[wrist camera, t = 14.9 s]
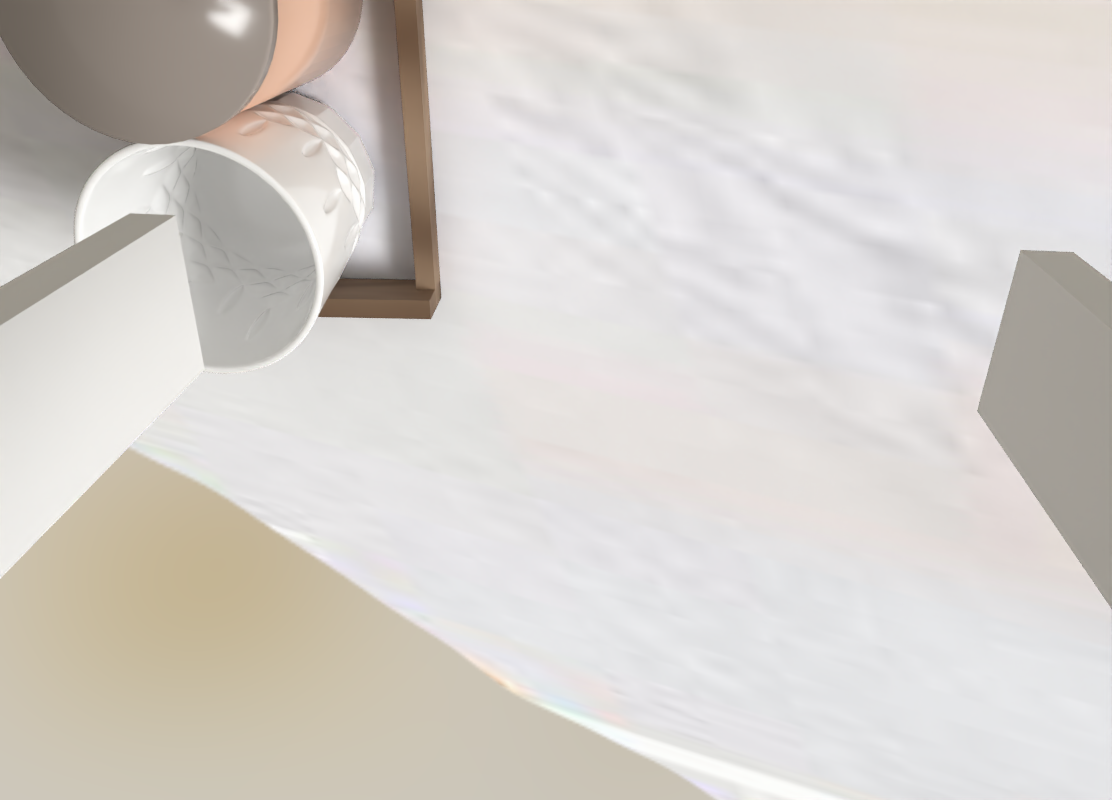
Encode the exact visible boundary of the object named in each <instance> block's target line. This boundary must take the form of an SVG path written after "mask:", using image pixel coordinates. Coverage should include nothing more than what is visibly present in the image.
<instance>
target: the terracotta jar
mask: <svg viewBox="0 0 1112 800" xmlns="http://www.w3.org/2000/svg"><path fill="white" fill-rule="evenodd" d="M362 4H363V0H0V36H1V38H2V40H3V42H4V43H5V45H6V47H7V49H8V51H9V52H10V54H11V55H12V57H13V58H14V60H15V61H16V63H17V64H18V66H19V67H20V69H21V70H22V71H23V73H24V74H25V75H26V76H27V77H28V79H29V80H30V81H31V82H32V84H33V85H34V86H35V87H36V88H37V89H38V90H39V91H40V92H41V93H42V94H43V95H44V96H45V97H46V98H47V99H48V100H49V101H51V102H52V103H53V104H54V105H56V106H57V107H58V108H59V109H60V110H62V111H63V112H64V113H66V114H67V115H69V116H70V117H72V118H73V119H75V120H76V121H78V122H79V123H81V124H83V125H85V126H87V127H89V128H91V129H93V130H95V131H97V132H99V133H102V134H105V135H107V136H110V137H113V138H115V139H120V140H124V141H128V142H132V143H140V144H149V145H153V144H171V143H177V142H183V141H186V140H189V139H192V138H195V137H198V136H201V135H203V134H205V133H208V132H210V131H212V130H214V129H216V128H218V127H220V126H222V125H224V124H225V123H227V122H228V121H229V120H231V119H232V118H234V117H235V116H236V115H238V114H239V113H240V112H242V111H244V110H246V109H249V108H251V107H253V106H256V105H258V104H260V103H263V102H265V101H267V100H270V99H272V98H274V97H276V96H279V95H281V94H283V93H286V92H288V91H290V90H293V89H295V88H297V87H299V86H302V85H304V84H306V83H309V82H311V81H313V80H315V79H317V78H319V77H321V76H322V75H324V74H325V73H326V72H328V71H329V70H331V69H332V68H333V67H334V66H335V65H336V64H337V63H338V62H339V61H340V60H341V58H342V57H343V56H344V54H345V53H346V52H347V50H348V48H349V47H350V45H351V43H352V41H353V39H354V37H355V34H356V32H357V29H358V26H359V22H360V18H361V12H362Z"/></svg>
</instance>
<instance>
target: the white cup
mask: <svg viewBox="0 0 1112 800" xmlns="http://www.w3.org/2000/svg"><path fill="white" fill-rule="evenodd" d="M374 176H375V171H374V168H373V166H372V163H371V161H370V159H369V156H368V154H367V152H366V149H365V147H364V144H363V142H362V140H361V137H360V135H359V134H358V133H357V132H356V131H355V130H354V129H353V128H352V127H351V126H350V125H349V124H348V123H347V122H346V121H345V120H344V119H343V118H342V117H341V116H339V115H338V114H337V113H336V112H335V111H334V110H333V109H332V108H331V107H330V106H327V105H325V104H322V103H319V102H317V101H314V100H312V99H309V98H306V97H304V96H301V95H299V94H296V93H293V92H291V93H283V94H281V95H279V96H276V97H274V98H272V99H270V100H267V101H265V102H263V103H260V104H258V105H256V106H253V107H251V108H249V109H246V110H244V111H242V112H240V113H239V114H238V115H236V116H235V117H234V118H232V119H231V120H229V121H228V122H227V123H225V124H224V125H222V126H220V127H218V128H216V129H214V130H212V131H210V132H208V133H205V134H203V135H201V136H198V137H195V138H192V139H189V140H186V141H183V142H177V143H171V144H153V145H149V144H140V143H133V144H131V145H129V146H126V147H124V148H122V149H120V150H119V151H117V152H115V153H114V154H112V155H111V156H109V157H108V158H107V159H106V160H104V161H103V162H102V163H101V164H100V165H99V166H98V167H97V168H96V169H95V170H94V172H93V173H92V174H91V176H90V177H89V179H88V180H87V182H86V183H85V185H84V187H83V189H82V191H81V194H80V196H79V199H78V203H77V206H76V211H75V217H74V243H75V244H77V243H78V242H80V241H82V240H84V239H85V238H87V237H89V236H91V235H92V234H94V233H96V232H98V231H99V230H101V229H103V228H105V227H107V226H108V225H110V224H112V223H114V222H115V221H117V220H119V219H121V218H122V217H124V216H126V215H128V214H129V213H134V214H158V215H176V219H177V225H178V230H179V235H180V241H181V246H182V251H183V257H184V262H185V267H186V272H187V278H188V283H189V288H190V294H191V299H192V304H193V310H194V315H195V320H196V326H197V331H198V336H199V342H200V347H201V352H202V358H203V363H204V368H205V370H204V371H203V372H209V373H220V374H231V373H242V372H248V371H253V370H257V369H260V368H263V367H266V366H268V365H270V364H273V363H275V362H277V361H278V360H280V359H282V358H283V357H285V356H286V355H288V354H289V353H290V352H292V351H293V350H294V349H295V348H296V347H297V346H298V345H299V344H300V343H301V342H302V341H303V340H304V338H305V337H306V336H307V334H308V333H309V331H310V330H311V328H312V326H313V324H314V323H315V321H316V319H317V317H318V315H319V314H320V312H321V310H322V308H323V307H324V305H325V303H326V301H327V299H328V297H329V295H330V293H331V292H332V290H333V288H334V287H335V285H336V283H337V282H338V280H339V279H340V277H341V275H342V273H343V271H344V269H345V267H346V264H347V263H348V261H349V259H350V257H351V255H352V253H353V251H354V248H355V247H356V245H357V243H358V240H359V236H360V232H361V229H362V226H363V225H364V223H365V221H366V219H367V218H368V216H369V214H370V212H371V211H372V209H373V205H374Z"/></svg>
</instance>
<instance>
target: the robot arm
mask: <svg viewBox="0 0 1112 800" xmlns="http://www.w3.org/2000/svg"><path fill="white" fill-rule="evenodd" d="M204 370H205V368H204V363H203V358H202V352H201V347H200V342H199V336H198V331H197V326H196V320H195V315H194V310H193V304H192V299H191V294H190V288H189V283H188V278H187V272H186V267H185V262H184V257H183V251H182V246H181V241H180V235H179V230H178V225H177V219H176V215H158V214H134V213H129V214H128V215H126V216H124V217H122V218H121V219H119V220H117V221H115V222H114V223H112V224H110V225H108V226H107V227H105V228H103V229H101V230H99V231H98V232H96V233H94V234H92V235H91V236H89V237H87V238H85V239H84V240H82V241H80V242H78V243H77V244H75V245H73V246H71V247H70V248H68V249H66V250H64V251H63V252H61V253H59V254H57V255H56V256H54V257H52V258H50V259H49V260H47V261H45V262H43V263H41V264H40V265H38V266H36V267H34V268H33V269H31V270H29V271H27V272H26V273H24V274H22V275H20V276H19V277H17V278H15V279H13V280H12V281H10V282H8V283H6V284H5V285H3V286H1V287H0V578H1V577H2V576H3V575H4V574H5V573H6V572H7V571H8V570H9V569H10V568H11V567H12V566H13V565H14V564H15V563H16V562H17V561H18V560H19V559H20V558H21V557H22V556H23V555H24V554H25V553H26V552H27V551H28V550H29V549H30V548H31V547H32V546H33V545H34V544H35V543H36V541H37V540H38V539H39V538H40V537H41V536H42V535H43V534H44V533H45V532H46V531H47V530H48V529H49V528H50V527H51V526H52V525H53V524H54V523H55V522H56V521H57V520H58V519H59V518H60V517H61V516H62V515H63V514H64V513H65V512H66V511H67V510H68V509H69V508H70V507H71V506H72V505H73V504H74V503H75V502H76V501H77V500H78V499H79V498H80V497H81V496H82V494H84V492H85V491H86V490H87V489H88V488H89V487H90V486H91V485H92V484H93V483H94V482H95V481H96V480H97V479H98V478H99V477H100V476H101V475H102V474H103V473H104V472H105V471H106V470H107V469H108V468H109V467H110V466H111V465H112V464H113V463H114V462H115V461H116V460H117V459H118V458H119V457H120V456H121V455H122V454H123V453H124V452H125V451H126V450H127V449H128V448H129V447H130V446H131V444H132V443H133V442H134V441H135V440H136V439H137V438H138V437H139V436H140V435H141V434H142V433H143V432H144V431H145V430H146V429H147V428H148V427H149V426H150V425H151V424H152V423H153V422H154V421H155V420H156V419H157V418H158V417H159V416H160V415H161V414H162V413H163V412H164V411H165V410H166V409H167V408H168V407H169V406H170V405H171V404H172V403H173V402H174V401H175V400H176V399H177V397H178V396H179V395H180V394H181V393H182V392H183V391H184V390H185V389H186V388H187V387H188V386H189V385H190V384H191V383H192V382H193V381H194V380H195V379H196V378H197V377H198V376H199V375H200V374H201V373H202V372H203V371H204ZM977 411H978V413H979V414H980V416H981V417H982V419H983V420H984V422H985V423H986V425H987V426H988V427H989V429H990V430H991V432H992V433H993V435H994V436H995V438H996V439H997V441H998V442H999V444H1000V445H1001V447H1002V448H1003V450H1004V451H1005V453H1006V454H1007V455H1008V457H1009V458H1010V460H1011V461H1012V463H1013V464H1014V466H1015V467H1016V469H1017V470H1018V472H1019V473H1020V475H1021V476H1022V478H1023V479H1024V480H1025V482H1026V483H1027V485H1028V486H1029V488H1030V489H1031V491H1032V492H1033V494H1034V495H1035V497H1036V498H1037V500H1038V501H1039V503H1040V504H1041V506H1042V507H1043V508H1044V510H1045V511H1046V513H1047V514H1048V516H1049V517H1050V519H1051V520H1052V522H1053V523H1054V525H1055V526H1056V528H1057V529H1058V531H1059V532H1060V534H1061V535H1062V536H1063V538H1064V539H1065V541H1066V542H1067V544H1068V545H1069V547H1070V548H1071V550H1072V551H1073V553H1074V554H1075V556H1076V557H1077V559H1078V560H1079V561H1080V563H1081V564H1082V566H1083V567H1084V569H1085V570H1086V572H1087V573H1088V575H1089V576H1090V578H1091V579H1092V581H1093V582H1094V584H1095V585H1096V587H1097V588H1098V589H1099V591H1100V592H1101V594H1102V595H1103V597H1104V598H1105V600H1106V601H1107V603H1108V604H1109V606H1110V607H1111V609H1112V282H1111V281H1110V280H1109V279H1107V278H1106V277H1105V276H1103V275H1102V274H1101V273H1100V272H1098V271H1097V270H1096V269H1094V268H1093V267H1092V266H1090V265H1089V264H1088V263H1087V262H1085V261H1084V260H1083V259H1081V258H1080V257H1079V256H1078V255H1076V254H1075V253H1074V252H1055V251H1030V250H1020V254H1019V258H1018V261H1017V265H1016V269H1015V272H1014V276H1013V280H1012V284H1011V287H1010V291H1009V295H1008V298H1007V302H1006V306H1005V310H1004V313H1003V317H1002V321H1001V324H1000V328H999V332H998V336H997V339H996V343H995V347H994V350H993V354H992V358H991V362H990V365H989V369H988V373H987V376H986V380H985V384H984V388H983V391H982V395H981V399H980V402H979V406H978V410H977Z"/></svg>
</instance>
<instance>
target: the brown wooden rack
mask: <svg viewBox="0 0 1112 800" xmlns="http://www.w3.org/2000/svg"><path fill="white" fill-rule="evenodd" d="M394 8H395V21H396V34H397V47H398V60H399V73H400V86H401V99H402V112H403V124H404V137H405V150H406V163H407V176H408V189H409V202H410V215H411V228H412V241H413V254H414V267H415V279H416V280H397V279H339V280H338V282H337V283H336V285H335V287H334V288H333V290H332V292H331V293H330V295H329V297H328V299H327V301H326V303H325V305H324V307H323V308H322V310H321V312H320V314H319V315H318V317H352V318H405V319H431V317H432V315H433V313H434V311H435V309H436V307H437V305H438V303H439V301H440V299H441V287H440V272H439V256H438V241H437V225H436V210H435V194H434V179H433V163H432V148H431V132H430V117H429V101H428V86H427V70H426V55H425V39H424V24H423V8H422V0H394Z"/></svg>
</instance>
